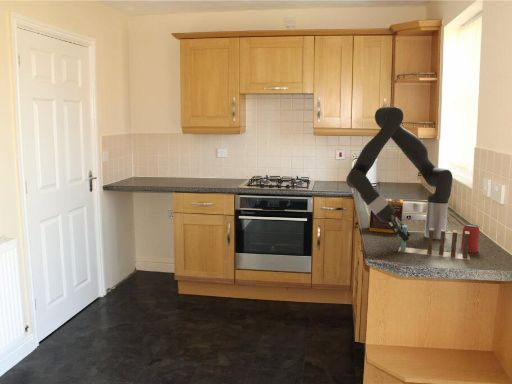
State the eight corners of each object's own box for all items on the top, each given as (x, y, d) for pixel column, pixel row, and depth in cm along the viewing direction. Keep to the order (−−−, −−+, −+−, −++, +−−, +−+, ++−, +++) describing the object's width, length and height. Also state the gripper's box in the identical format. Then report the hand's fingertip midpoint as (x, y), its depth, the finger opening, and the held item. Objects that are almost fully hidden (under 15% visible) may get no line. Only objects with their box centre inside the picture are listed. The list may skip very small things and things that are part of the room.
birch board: (397, 253, 205) (398, 251, 205) (399, 249, 213) (399, 246, 213) (469, 262, 196) (469, 259, 196) (468, 257, 203) (469, 254, 203)
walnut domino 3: (450, 256, 200) (453, 232, 198) (450, 253, 204) (452, 229, 203) (455, 257, 199) (457, 232, 197) (454, 254, 204) (457, 230, 202)
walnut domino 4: (462, 258, 198) (465, 233, 196) (462, 254, 203) (464, 231, 201) (467, 258, 197) (469, 234, 196) (466, 255, 202) (469, 231, 201)
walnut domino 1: (427, 253, 203) (429, 229, 201) (427, 250, 207) (429, 227, 206) (431, 254, 202) (433, 230, 201) (431, 251, 207) (433, 227, 205)
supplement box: (400, 233, 243) (403, 202, 241) (368, 230, 247) (371, 200, 245) (400, 229, 253) (403, 199, 251) (370, 226, 257) (372, 197, 255)
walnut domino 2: (438, 255, 201) (441, 231, 200) (439, 252, 206) (441, 228, 204) (443, 255, 201) (445, 231, 199) (443, 252, 205) (445, 229, 204)
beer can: (469, 255, 207) (472, 227, 205) (457, 251, 213) (459, 224, 211) (480, 254, 210) (483, 226, 208) (468, 250, 215) (471, 223, 214)
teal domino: (400, 250, 206) (402, 227, 205) (401, 247, 211) (403, 224, 209) (404, 251, 206) (406, 227, 204) (405, 248, 210) (407, 225, 209)
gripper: (386, 205, 201) (414, 236, 199) (390, 200, 215) (416, 229, 212) (372, 216, 204) (399, 247, 202) (376, 211, 217) (402, 240, 215)
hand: (407, 238), depth 207 cm, fingers open, 7 cm apart
